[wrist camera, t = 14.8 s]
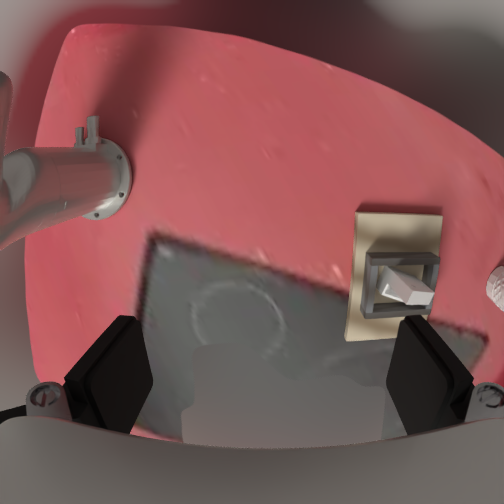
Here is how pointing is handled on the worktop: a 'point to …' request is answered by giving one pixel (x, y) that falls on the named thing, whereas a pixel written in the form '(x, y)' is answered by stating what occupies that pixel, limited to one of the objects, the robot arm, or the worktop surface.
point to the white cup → (496, 287)
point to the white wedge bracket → (403, 287)
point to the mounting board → (395, 255)
